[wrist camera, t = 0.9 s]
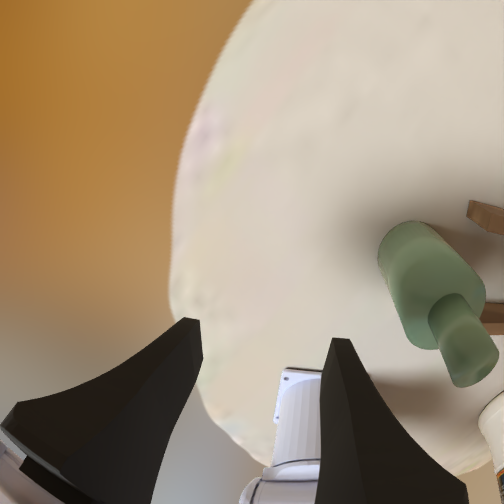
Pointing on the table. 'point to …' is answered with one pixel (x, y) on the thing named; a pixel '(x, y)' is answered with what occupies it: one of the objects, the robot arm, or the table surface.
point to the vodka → (495, 436)
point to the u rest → (497, 221)
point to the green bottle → (438, 300)
